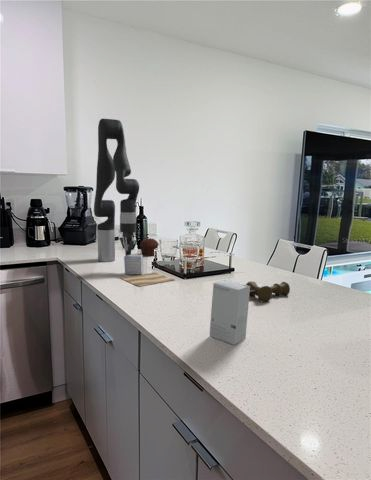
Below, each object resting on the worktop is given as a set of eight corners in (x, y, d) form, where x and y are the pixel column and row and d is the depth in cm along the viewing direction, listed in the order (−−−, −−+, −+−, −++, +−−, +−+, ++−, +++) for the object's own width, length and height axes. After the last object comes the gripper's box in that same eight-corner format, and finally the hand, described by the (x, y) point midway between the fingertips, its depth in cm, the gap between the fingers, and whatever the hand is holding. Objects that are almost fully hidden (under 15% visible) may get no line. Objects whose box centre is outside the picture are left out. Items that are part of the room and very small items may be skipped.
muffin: (143, 257, 193) (143, 240, 192) (136, 254, 202) (136, 238, 201) (162, 255, 199) (162, 239, 198) (154, 252, 208) (154, 237, 207)
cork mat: (120, 278, 145) (120, 277, 145) (154, 272, 157) (154, 272, 157) (139, 287, 133) (139, 286, 133) (175, 280, 144) (175, 279, 144)
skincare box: (209, 336, 88) (210, 282, 86) (221, 329, 93) (223, 278, 91) (236, 346, 83) (238, 289, 81) (248, 338, 88) (250, 284, 85)
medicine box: (143, 272, 155) (143, 254, 154) (141, 274, 151) (140, 256, 150) (127, 272, 156) (126, 254, 155) (124, 274, 152) (123, 256, 151)
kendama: (294, 299, 123) (251, 304, 114) (277, 292, 132) (235, 297, 123) (295, 283, 122) (252, 287, 114) (278, 277, 131) (236, 281, 123)
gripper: (114, 221, 157) (114, 256, 160) (127, 223, 147) (128, 261, 150) (128, 220, 162) (128, 255, 164) (142, 222, 152) (142, 259, 154)
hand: (128, 258), depth 157 cm, fingers closed
